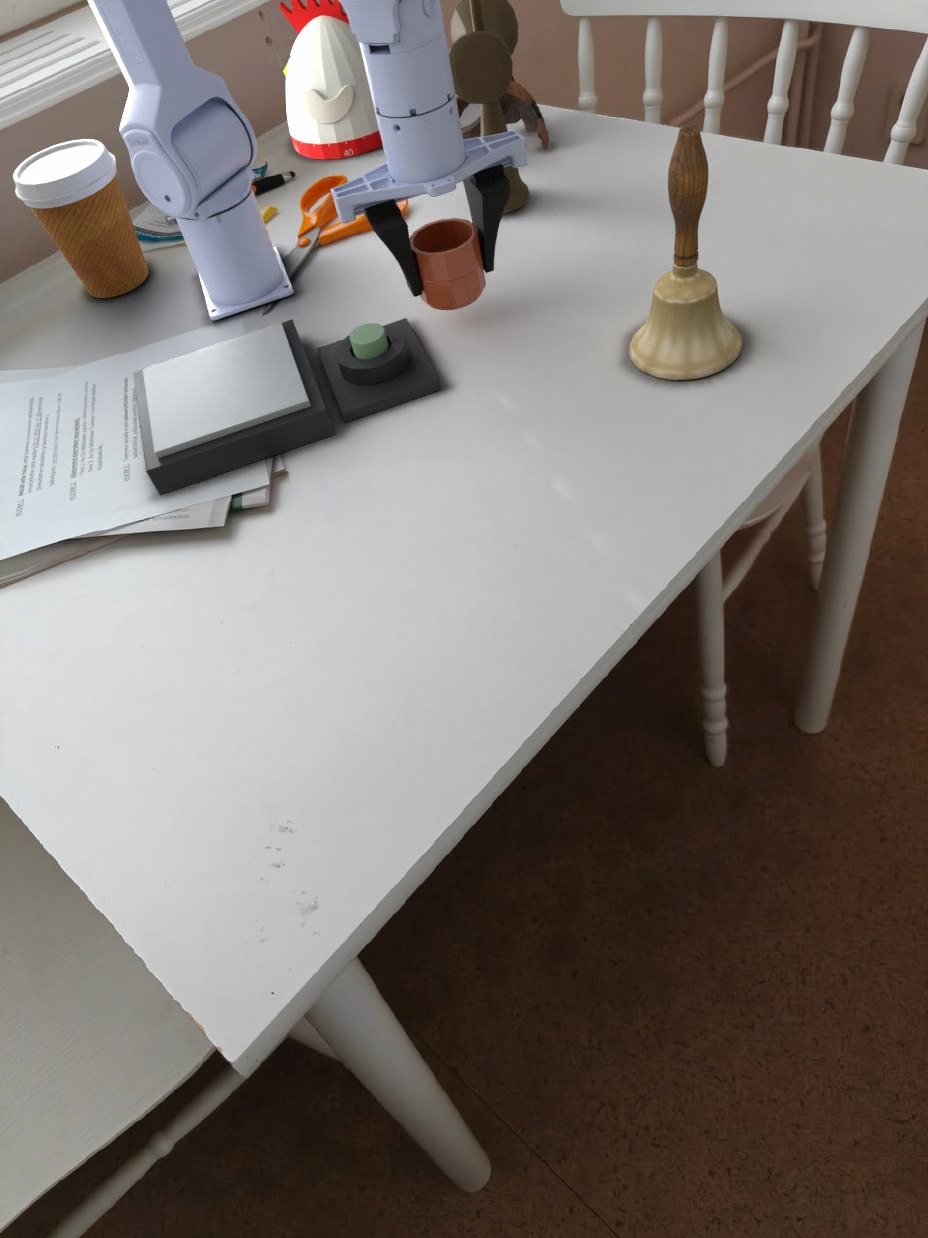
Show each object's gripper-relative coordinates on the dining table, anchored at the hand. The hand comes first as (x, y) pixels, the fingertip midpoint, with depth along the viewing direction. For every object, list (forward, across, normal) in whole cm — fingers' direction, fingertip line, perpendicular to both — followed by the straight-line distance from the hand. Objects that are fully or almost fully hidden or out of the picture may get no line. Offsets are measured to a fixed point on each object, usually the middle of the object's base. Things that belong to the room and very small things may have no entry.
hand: (450, 278), depth 74 cm
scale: (+4, -20, -2) cm, 21 cm away
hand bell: (+4, +14, -13) cm, 20 cm away
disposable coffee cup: (+4, -28, +27) cm, 39 cm away
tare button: (+2, -8, -3) cm, 9 cm away
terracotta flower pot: (+1, 0, 0) cm, 1 cm away
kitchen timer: (+4, +1, +45) cm, 45 cm away
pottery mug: (+4, +14, +29) cm, 32 cm away
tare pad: (+4, -8, -3) cm, 9 cm away
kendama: (+4, +10, +17) cm, 20 cm away
